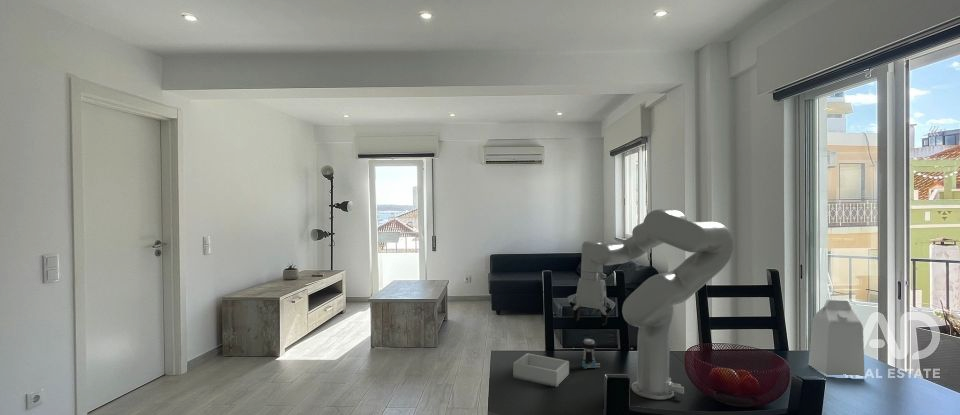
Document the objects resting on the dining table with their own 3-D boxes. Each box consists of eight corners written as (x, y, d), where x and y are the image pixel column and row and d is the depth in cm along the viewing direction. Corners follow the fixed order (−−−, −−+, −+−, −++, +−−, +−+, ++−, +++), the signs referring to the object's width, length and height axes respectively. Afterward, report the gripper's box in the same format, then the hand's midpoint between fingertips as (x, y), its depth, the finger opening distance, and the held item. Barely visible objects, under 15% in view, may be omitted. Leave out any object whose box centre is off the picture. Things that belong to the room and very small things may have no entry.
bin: (568, 375, 160) (569, 361, 160) (556, 387, 150) (556, 371, 150) (527, 366, 168) (527, 353, 168) (513, 377, 158) (513, 362, 158)
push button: (598, 365, 170) (599, 338, 170) (601, 371, 165) (601, 343, 164) (580, 364, 171) (580, 337, 170) (581, 370, 165) (582, 342, 165)
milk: (844, 368, 170) (846, 297, 170) (864, 380, 159) (866, 304, 158) (808, 365, 172) (810, 295, 172) (825, 377, 161) (827, 302, 161)
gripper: (618, 276, 166) (616, 324, 167) (571, 271, 175) (570, 316, 175) (613, 280, 160) (611, 329, 160) (565, 274, 168) (563, 321, 169)
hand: (590, 322), depth 168 cm, fingers open, 9 cm apart
